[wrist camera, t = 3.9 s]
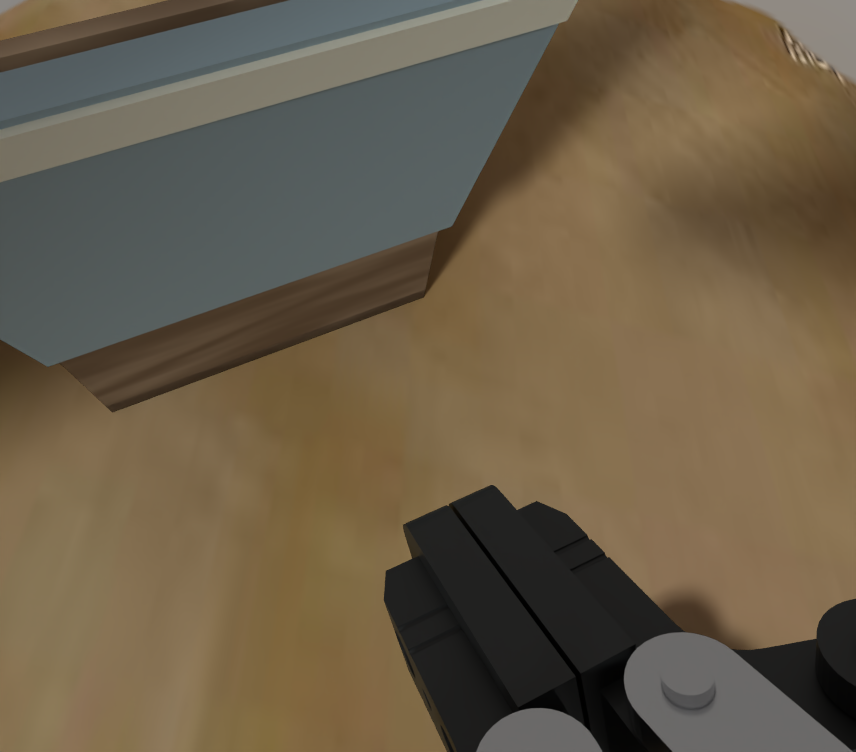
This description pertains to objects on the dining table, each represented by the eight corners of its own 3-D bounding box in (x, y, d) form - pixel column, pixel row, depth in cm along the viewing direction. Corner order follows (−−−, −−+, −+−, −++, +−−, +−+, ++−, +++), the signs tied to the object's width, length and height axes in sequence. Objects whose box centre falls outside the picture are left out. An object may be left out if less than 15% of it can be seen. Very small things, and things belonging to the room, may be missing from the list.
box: (423, 297, 41) (442, 210, 33) (112, 412, 37) (42, 347, 29) (320, 89, 46) (313, -35, 37) (31, 171, 41) (-50, 52, 33)
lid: (443, 206, 33) (453, 230, 32) (39, 344, 28) (49, 371, 28) (572, -71, 17) (593, -29, 17) (-275, 141, 13) (-256, 199, 13)
